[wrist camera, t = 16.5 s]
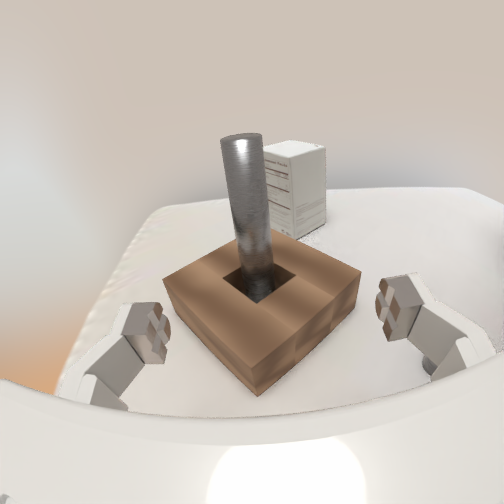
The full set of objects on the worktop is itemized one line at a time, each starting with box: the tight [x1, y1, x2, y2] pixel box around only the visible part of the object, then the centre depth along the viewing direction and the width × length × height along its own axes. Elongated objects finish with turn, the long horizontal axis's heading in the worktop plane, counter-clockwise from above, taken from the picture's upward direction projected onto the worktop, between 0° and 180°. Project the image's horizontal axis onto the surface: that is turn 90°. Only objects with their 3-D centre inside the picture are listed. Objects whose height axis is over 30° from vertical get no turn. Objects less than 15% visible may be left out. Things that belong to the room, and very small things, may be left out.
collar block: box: [162, 229, 361, 397], centre depth 27 cm, size 14×14×5 cm
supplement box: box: [263, 140, 326, 240], centre depth 40 cm, size 7×7×13 cm
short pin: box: [422, 355, 438, 376], centre depth 19 cm, size 3×3×4 cm
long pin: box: [220, 133, 276, 304], centre depth 24 cm, size 3×3×18 cm
